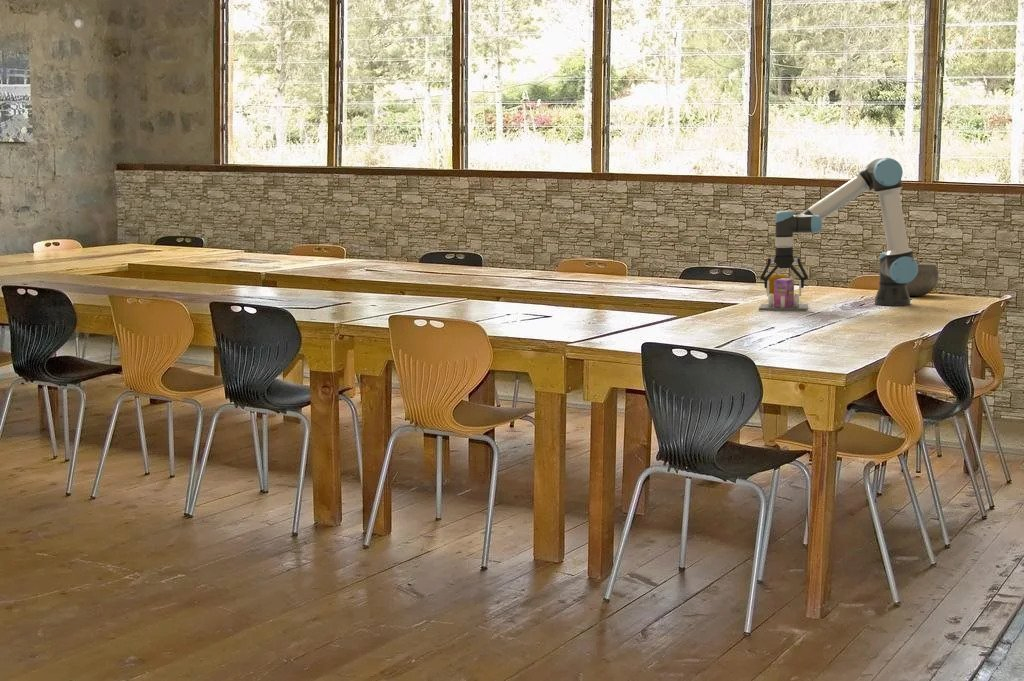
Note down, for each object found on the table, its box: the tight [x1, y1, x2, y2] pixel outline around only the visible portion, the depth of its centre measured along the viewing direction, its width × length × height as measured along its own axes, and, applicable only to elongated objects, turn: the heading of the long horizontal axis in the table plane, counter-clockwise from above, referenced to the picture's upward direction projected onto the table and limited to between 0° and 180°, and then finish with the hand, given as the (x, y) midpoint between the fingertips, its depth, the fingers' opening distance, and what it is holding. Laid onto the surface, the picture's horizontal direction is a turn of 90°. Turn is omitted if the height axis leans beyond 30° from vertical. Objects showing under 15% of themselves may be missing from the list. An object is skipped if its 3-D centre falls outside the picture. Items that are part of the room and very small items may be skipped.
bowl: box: [907, 263, 939, 297], centre depth 597 cm, size 21×21×15 cm
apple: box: [765, 272, 789, 295], centre depth 589 cm, size 11×11×13 cm
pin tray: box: [758, 293, 809, 312], centre depth 552 cm, size 20×18×6 cm
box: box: [774, 277, 795, 307], centre depth 551 cm, size 10×6×12 cm, turn 149°
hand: (784, 295), depth 551 cm, fingers open, 13 cm apart
